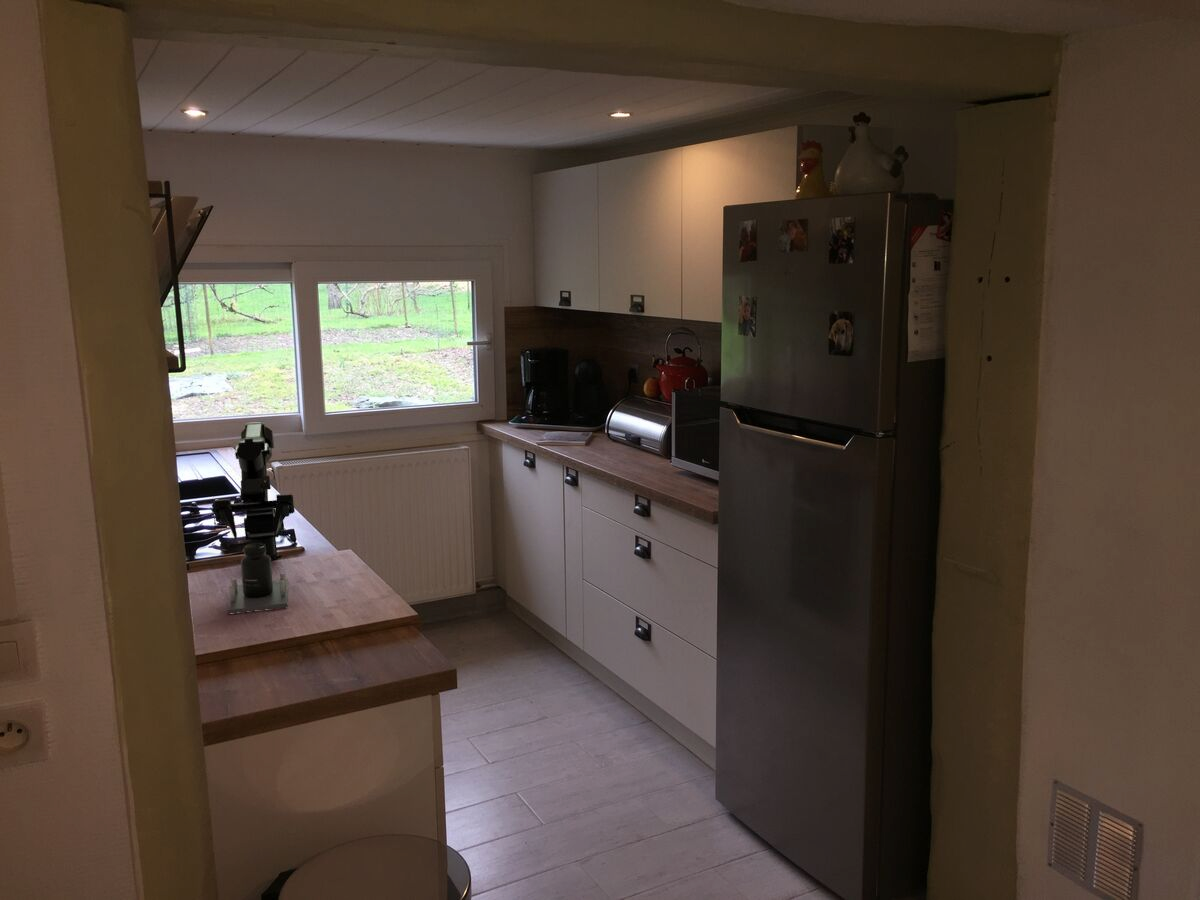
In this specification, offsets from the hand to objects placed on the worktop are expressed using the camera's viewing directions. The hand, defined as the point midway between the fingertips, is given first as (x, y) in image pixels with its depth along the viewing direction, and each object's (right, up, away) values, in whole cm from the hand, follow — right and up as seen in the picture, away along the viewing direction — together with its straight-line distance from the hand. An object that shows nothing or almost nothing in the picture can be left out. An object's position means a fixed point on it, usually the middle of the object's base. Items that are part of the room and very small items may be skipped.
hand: (255, 536), depth 236 cm
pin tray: (+2, -15, -4) cm, 15 cm away
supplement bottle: (+2, -14, -5) cm, 15 cm away
